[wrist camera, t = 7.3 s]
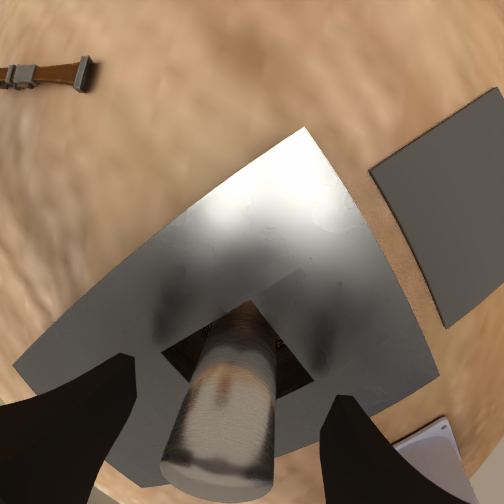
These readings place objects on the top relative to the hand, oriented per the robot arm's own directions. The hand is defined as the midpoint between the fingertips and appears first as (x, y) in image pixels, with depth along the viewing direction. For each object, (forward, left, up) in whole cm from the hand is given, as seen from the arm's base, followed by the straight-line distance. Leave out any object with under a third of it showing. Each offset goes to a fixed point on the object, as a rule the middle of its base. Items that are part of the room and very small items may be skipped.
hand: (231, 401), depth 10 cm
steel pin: (0, 0, -6) cm, 6 cm away
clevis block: (0, +3, -6) cm, 7 cm away
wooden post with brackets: (+18, +2, -6) cm, 19 cm away
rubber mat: (-2, -14, -6) cm, 15 cm away
